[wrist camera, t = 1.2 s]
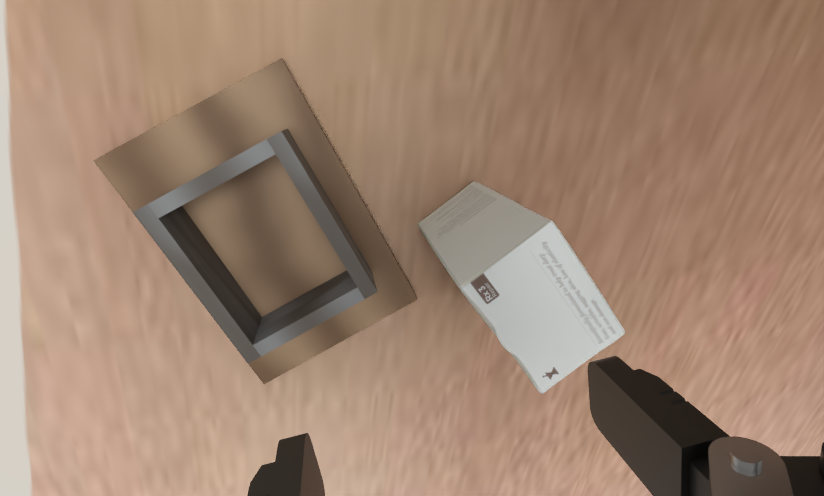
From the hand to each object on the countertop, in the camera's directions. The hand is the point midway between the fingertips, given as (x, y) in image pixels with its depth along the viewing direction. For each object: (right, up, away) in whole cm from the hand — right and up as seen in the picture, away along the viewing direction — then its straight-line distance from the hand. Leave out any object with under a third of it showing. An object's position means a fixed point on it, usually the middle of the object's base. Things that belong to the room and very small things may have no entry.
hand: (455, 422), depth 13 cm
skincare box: (+3, +6, +25) cm, 26 cm away
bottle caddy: (-12, +6, +22) cm, 25 cm away
